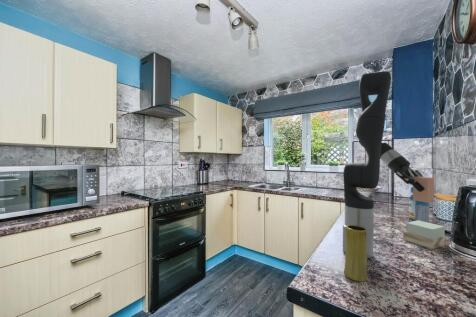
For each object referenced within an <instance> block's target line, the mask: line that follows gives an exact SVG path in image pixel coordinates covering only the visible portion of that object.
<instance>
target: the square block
mask: <svg viewBox="0 0 476 317" xmlns="http://www.w3.org/2000/svg"><path fill="white" fill-rule="evenodd" d="M414 179H415V180H416V181H417V182H418V183H419V184H420V185H422V186H423V187H424V188H425V189H424V190H423V191H422V192H419V191H418V190H417V189H416V188H415V187H414V186H413V185H412V187H413V200H415V201H421V202H427V203H428V204H429V203H433V202H435V177H431V176H430V177H427V176H423V177H414Z"/></svg>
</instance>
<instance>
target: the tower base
mask: <svg viewBox="0 0 476 317" xmlns="http://www.w3.org/2000/svg"><path fill="white" fill-rule="evenodd" d="M402 232H403V233H402V235H403V236H402V238H403V239H402V240H403V241H406V242H409V243H412V244H415V245H418V246H422V247H425V248H428V249H431V250H434V249H437V248H440V247H445V246H446V245H447V236H446V235H445V236H444V237H440V238H437V239H433V240H432V239H429V238H425V237H422V236H418V235H415V234H412V233H408V232H406V230H403V231H402Z"/></svg>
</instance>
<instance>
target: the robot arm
mask: <svg viewBox="0 0 476 317" xmlns="http://www.w3.org/2000/svg"><path fill="white" fill-rule="evenodd" d="M391 83H392V74H391V73H390V72H389V71H386V70H385V71H375V72H368V73H364V74H362V75H361V77H360V78H359V82H358V84H359V85H358V90H359V98H360V105H361V110H362V111H361V112H362V113H361V114H360V115H359V117H358V119H357V122H356V123H357V124H356V128H355V135H356V137H357V139H358V142H359V145H360V146H362V148H364V151H366V153H367V158H368V159H367V160H368V161H367V162H365V163H364V162H349V163H346V164H345V165H344V168H343V194H344V196H343V198H344V225H343V226H342V251H343V252H344V253H346V226H347V225H357V226H361V227H364V228H366V232H367V235H366V244H367V259H371V258H373V257H374V226H375V224H374V220H375V219H374V218H375V216H374V215H375V202H374V200H373V199H372V198H371V197H368V196H365V195H363V194H362V193H361V192H360V191H359V190H358V189H367V190H369V189H370V190H375V189H376V188H377V187H378V185H379V181H380V174H381V173H380V172H381V170H380V169H381V166H380V165H381V162H382V163H383V164H384V165H386V166H387V167H388V168H389V170H391V172H392V173H394V174H395V175H396V176H397V177H398V178H399V179H400V180H402V181H403V182H404V183H405V184H407V185H411V186H412V187H413V186H414V187H415V188H416V189H417V190H418V191H419V192H422V191H423V190H424V189H425V188H424V187H423V186H422V185H420V184H419V183H418V182H417V181H416V180H415V179H414V177H424V175H423V174H422V173H421V172H420V171H419V170H417V169H416V170H414V169H413V168H411V167H410V166H411V162H410V161H409V160H408V159H407V158H405V157H404V156H403V155H402V154H401V153H399V151H397V150H395V149H394V148H393V147H392V146H391V145H390V144H389V143H386V142H383V137H384V130H385V124H386V113H387V112H386V111H387V110H386V109H387V103H388V99H389V94H390V89H391ZM369 96H376V98H375V99H374V101H373V102H372V101H371V100H370V97H369Z"/></svg>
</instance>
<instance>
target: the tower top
mask: <svg viewBox="0 0 476 317" xmlns="http://www.w3.org/2000/svg"><path fill="white" fill-rule="evenodd" d="M445 230H446V228H445V226H444V225H440V224H435V223H431V222H429V223H427V222H423V221H419V220H417V221H412V222H409V221H407V222H405V231H406V232H408V233H412V234H415V235H418V236H422V237H425V238H429V239H432V240H433V239H437V238H440V237H444V236H446V235H445V234H446V232H445Z"/></svg>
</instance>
